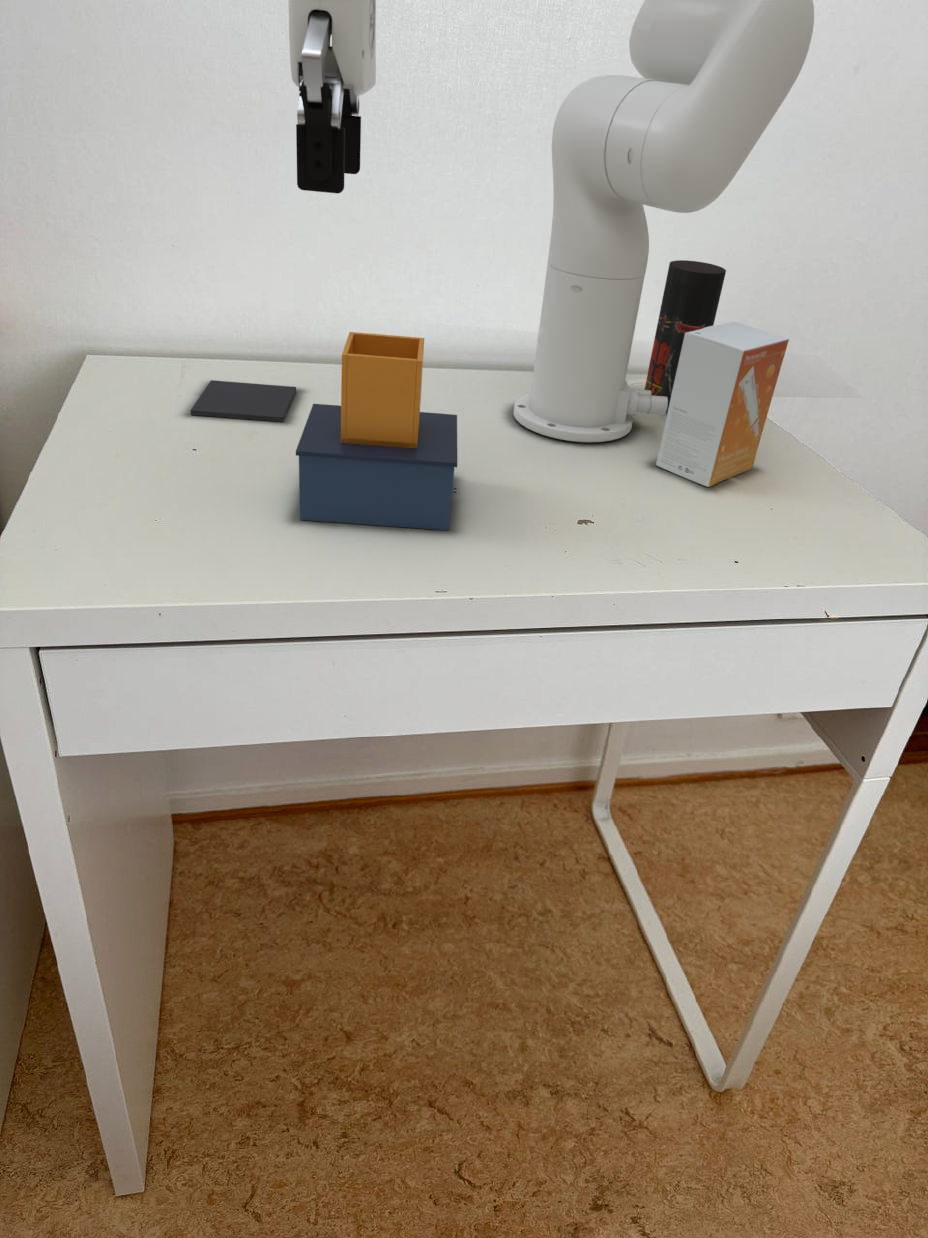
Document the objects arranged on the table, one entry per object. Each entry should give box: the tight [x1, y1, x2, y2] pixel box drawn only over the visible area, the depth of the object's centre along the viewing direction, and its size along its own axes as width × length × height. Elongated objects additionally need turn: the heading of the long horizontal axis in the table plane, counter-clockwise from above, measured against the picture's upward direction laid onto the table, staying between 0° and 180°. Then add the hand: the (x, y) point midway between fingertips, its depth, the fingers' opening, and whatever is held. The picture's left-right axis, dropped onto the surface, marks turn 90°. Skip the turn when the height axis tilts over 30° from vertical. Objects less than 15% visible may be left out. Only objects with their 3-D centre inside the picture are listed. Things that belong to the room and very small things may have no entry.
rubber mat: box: [190, 379, 297, 423], centre depth 93 cm, size 9×9×1 cm
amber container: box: [340, 331, 425, 448], centre depth 72 cm, size 6×6×7 cm
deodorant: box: [643, 259, 727, 413], centre depth 100 cm, size 6×6×15 cm
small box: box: [655, 321, 790, 488], centre depth 86 cm, size 8×6×13 cm
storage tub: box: [295, 403, 458, 531], centre depth 76 cm, size 12×10×6 cm
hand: (330, 180), depth 68 cm, fingers open, 9 cm apart
